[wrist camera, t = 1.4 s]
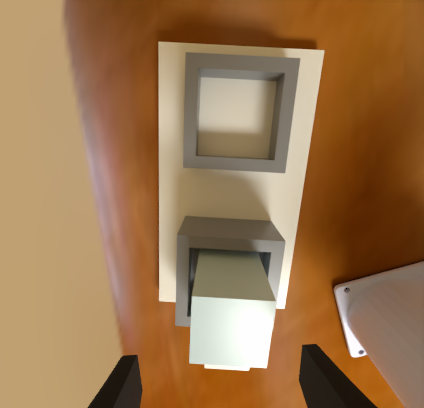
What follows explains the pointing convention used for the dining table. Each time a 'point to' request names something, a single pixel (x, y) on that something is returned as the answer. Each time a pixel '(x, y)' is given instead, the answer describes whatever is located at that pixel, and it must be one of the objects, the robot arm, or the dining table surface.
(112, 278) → the dining table surface
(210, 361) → the plug
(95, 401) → the robot arm
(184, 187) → the board with square sockets
